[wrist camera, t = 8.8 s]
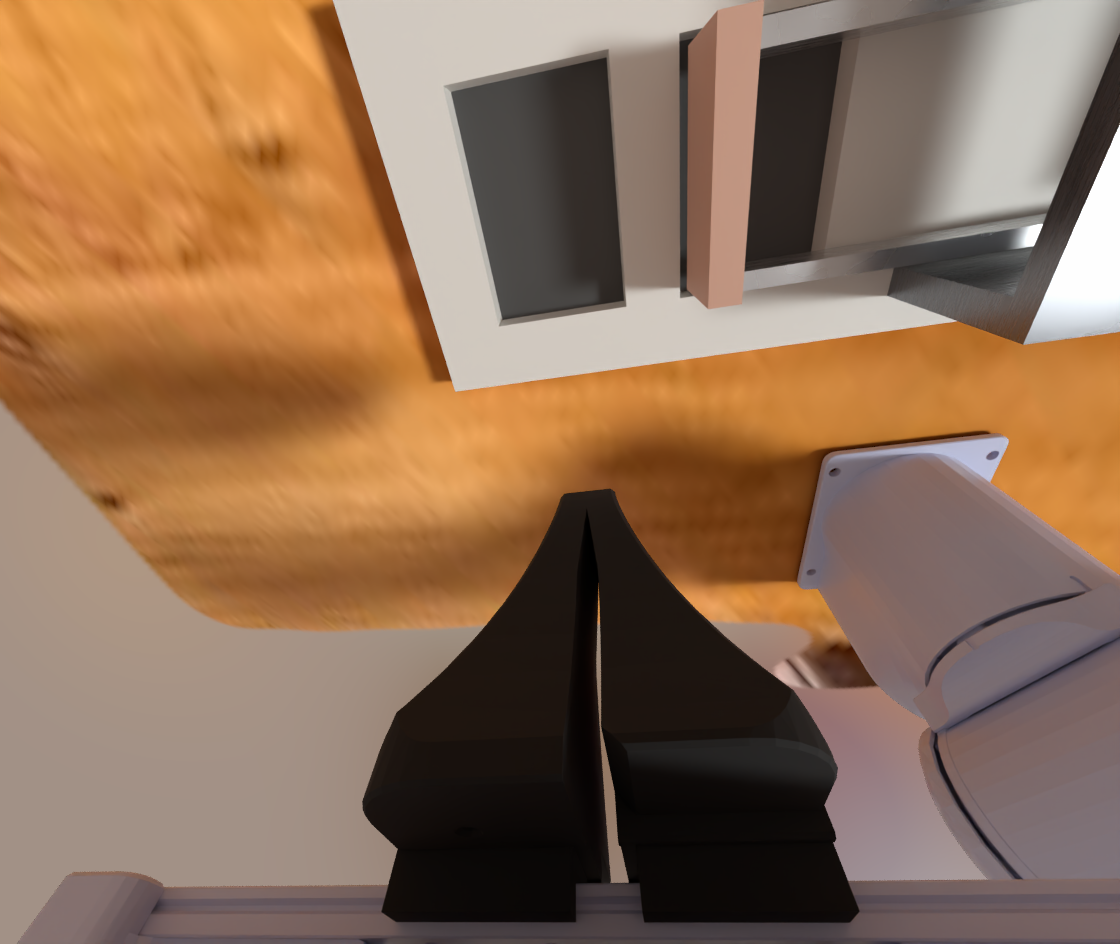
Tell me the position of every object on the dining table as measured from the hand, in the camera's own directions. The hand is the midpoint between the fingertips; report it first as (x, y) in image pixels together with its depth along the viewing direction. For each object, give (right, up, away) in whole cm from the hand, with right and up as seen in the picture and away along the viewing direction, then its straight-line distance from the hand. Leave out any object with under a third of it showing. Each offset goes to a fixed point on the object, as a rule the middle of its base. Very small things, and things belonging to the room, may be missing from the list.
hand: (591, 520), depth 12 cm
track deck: (+9, +12, +3) cm, 15 cm away
